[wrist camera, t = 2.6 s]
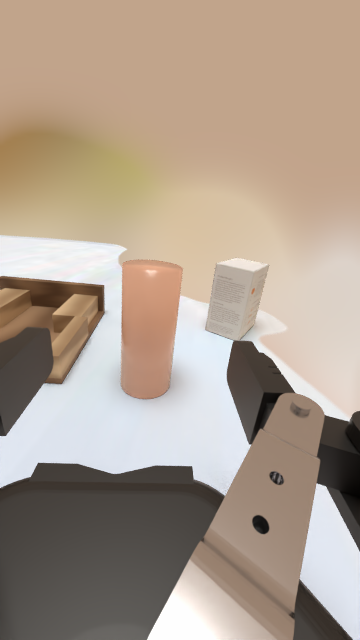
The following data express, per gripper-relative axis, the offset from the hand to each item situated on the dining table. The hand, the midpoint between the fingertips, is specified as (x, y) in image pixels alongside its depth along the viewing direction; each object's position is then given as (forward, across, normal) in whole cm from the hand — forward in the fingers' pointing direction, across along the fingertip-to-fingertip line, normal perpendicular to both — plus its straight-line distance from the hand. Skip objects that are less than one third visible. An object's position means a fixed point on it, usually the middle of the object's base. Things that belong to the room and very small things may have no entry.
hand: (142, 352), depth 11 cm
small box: (+26, -12, +11) cm, 31 cm away
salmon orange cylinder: (+12, 0, +10) cm, 16 cm away
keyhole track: (+20, +16, +10) cm, 27 cm away
